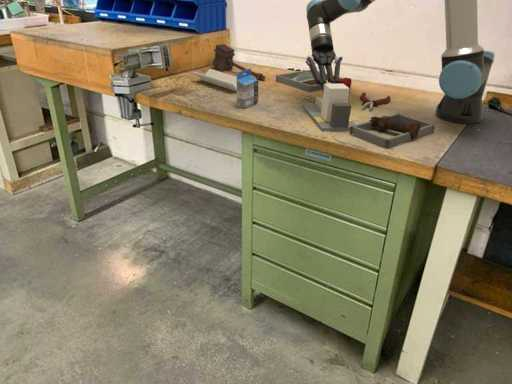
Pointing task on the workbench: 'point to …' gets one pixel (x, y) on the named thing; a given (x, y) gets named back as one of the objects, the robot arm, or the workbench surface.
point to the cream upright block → (333, 98)
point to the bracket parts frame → (288, 80)
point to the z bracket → (219, 79)
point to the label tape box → (246, 89)
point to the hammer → (229, 61)
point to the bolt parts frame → (361, 132)
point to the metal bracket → (304, 77)
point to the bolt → (396, 125)
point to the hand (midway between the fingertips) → (330, 102)
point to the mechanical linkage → (345, 82)
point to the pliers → (375, 102)
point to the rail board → (317, 113)
